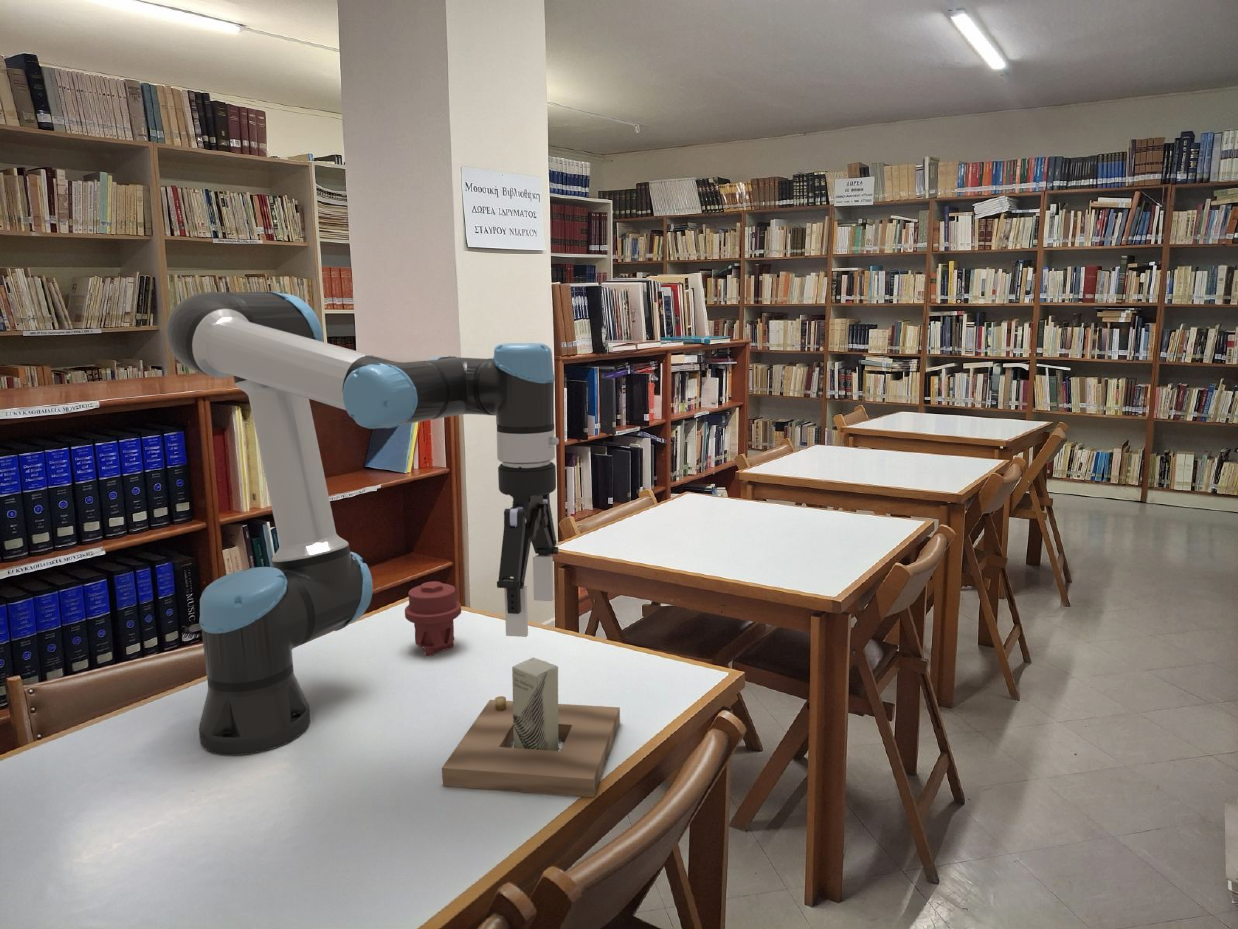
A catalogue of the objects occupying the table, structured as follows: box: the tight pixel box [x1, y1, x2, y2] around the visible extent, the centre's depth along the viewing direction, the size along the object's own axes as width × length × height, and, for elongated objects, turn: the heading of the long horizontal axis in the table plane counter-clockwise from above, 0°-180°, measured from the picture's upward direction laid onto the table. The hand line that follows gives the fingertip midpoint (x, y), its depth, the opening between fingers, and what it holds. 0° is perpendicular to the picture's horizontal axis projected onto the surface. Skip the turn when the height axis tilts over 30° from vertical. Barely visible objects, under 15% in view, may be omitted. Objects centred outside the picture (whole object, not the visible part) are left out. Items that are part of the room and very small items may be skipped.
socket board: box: [441, 695, 621, 798], centre depth 119 cm, size 20×20×4 cm
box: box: [511, 657, 560, 751], centre depth 118 cm, size 5×4×13 cm
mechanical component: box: [404, 580, 462, 657], centre depth 156 cm, size 12×10×10 cm
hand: (531, 617), depth 116 cm, fingers open, 13 cm apart
